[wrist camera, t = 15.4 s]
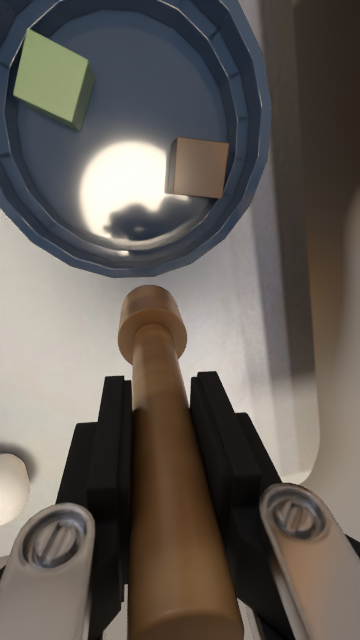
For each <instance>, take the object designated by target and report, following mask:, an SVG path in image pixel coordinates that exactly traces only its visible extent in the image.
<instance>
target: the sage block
mask: <svg viewBox="0 0 360 640" xmlns="http://www.w3.org/2000/svg"><path fill="white" fill-rule="evenodd" d="M94 81H95V78H94V75H93V72H92V69H91V66H90V63H89V60H88V59H86V58H84V57H82V56H80V55H78V54H76V53H74V52H73V51H71V50H69V49H67V48H65V47H63V46H61V45H59V44H57V43H55V42H54V41H52V40H50V39H48V38H46V37H44V36H42V35H40V34H38V33H36V32H35V31H33V30H31V29H29V28H27V31H26V36H25V40H24V45H23V50H22V54H21V59H20V63H19V68H18V73H17V77H16V82H15V86H14V91H13V95H14V96H15V97H16V98H17V99H19V100H20V101H21V102H22V103H24V104H25V105H26V106H27V107H29V108H30V109H32V110H34V111H36V112H38V113H40V114H42V115H45V116H47V117H49V118H51V119H53V120H55V121H57V122H60V123H62V124H64V125H66V126H68V127H70V128H72V129H75V130H77V131H79V132H80V130H81V127H82V123H83V120H84V116H85V113H86V109H87V106H88V102H89V98H90V95H91V91H92V88H93V84H94Z"/></svg>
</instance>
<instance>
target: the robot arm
mask: <svg viewBox="0 0 360 640" xmlns="http://www.w3.org/2000/svg"><path fill="white" fill-rule="evenodd" d="M190 411H191V415H192V419H193V423H194V427H195V431H196V435H197V439H198V443H199V448H200V452H201V456H202V460H203V464H204V468H205V472H206V476H207V480H208V484H209V488H210V492H211V496H212V500H213V504H214V508H215V512H216V516H217V520H218V524H219V528H220V532H221V536H222V540H223V544H224V548H225V552H226V557H227V561H228V565H229V569H230V573H231V577H232V581H233V585H234V589H235V593H236V597H237V598H238V599H240V600H241V601H242V602H243V603H245V605H246V612H247V617H248V620H249V624H250V628H251V631H252V635H253V639H254V640H360V542H358V541H356V540H355V539H353V538H351V537H349V536H348V535H346V534H344V533H343V531H342V530H341V528H340V526H339V524H338V523H337V522H336V520H335V518H334V517H333V515H332V513H331V511H330V510H329V508H328V507H327V506H326V504H325V503H324V502H323V501H322V499H321V498H319V497H318V496H317V495H316V494H315V493H313V492H312V491H310V490H308V489H306V488H304V487H302V486H300V485H296V484H293V483H282V481H281V479H280V477H279V475H278V473H277V471H276V469H275V467H274V465H273V463H272V461H271V459H270V457H269V455H268V453H267V451H266V449H265V447H264V445H263V443H262V441H261V439H260V437H259V435H258V433H257V431H256V429H255V427H254V425H253V423H252V421H251V419H250V417H249V416H248V414H247V413H245V412H244V413H235V412H234V410H233V408H232V405H231V403H230V401H229V399H228V396H227V394H226V392H225V390H224V387H223V385H222V383H221V381H220V378H219V376H218V374H217V372H216V371H210V372H198V374H197V377H192V378H191V394H190ZM132 418H133V409H132V385H131V380H124V376H106V377H105V381H104V387H103V393H102V398H101V404H100V410H99V416H98V422H89V423H77V425H76V427H75V430H74V434H73V438H72V442H71V446H70V449H69V453H68V457H67V461H66V465H65V469H64V473H63V476H62V480H61V484H60V488H59V492H58V496H57V499H56V503H55V505H51V506H49V507H47V508H45V509H43V510H41V511H39V512H38V513H37V514H35V515H34V516H33V517H31V518H30V519H29V520H28V521H27V522H26V524H25V525H24V526H23V527H22V528H21V530H20V532H19V533H18V535H17V537H16V539H15V541H14V544H13V547H12V550H11V553H10V555H9V558H8V561H7V564H6V565H5V566H4V567H3V568H2V569H0V640H106V627H107V626H108V625H109V624H110V623H111V621H112V620H113V619H114V618H115V616H116V615H117V614H118V613H119V611H120V610H121V602H124V585H125V584H128V560H129V536H130V531H131V475H132Z"/></svg>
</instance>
